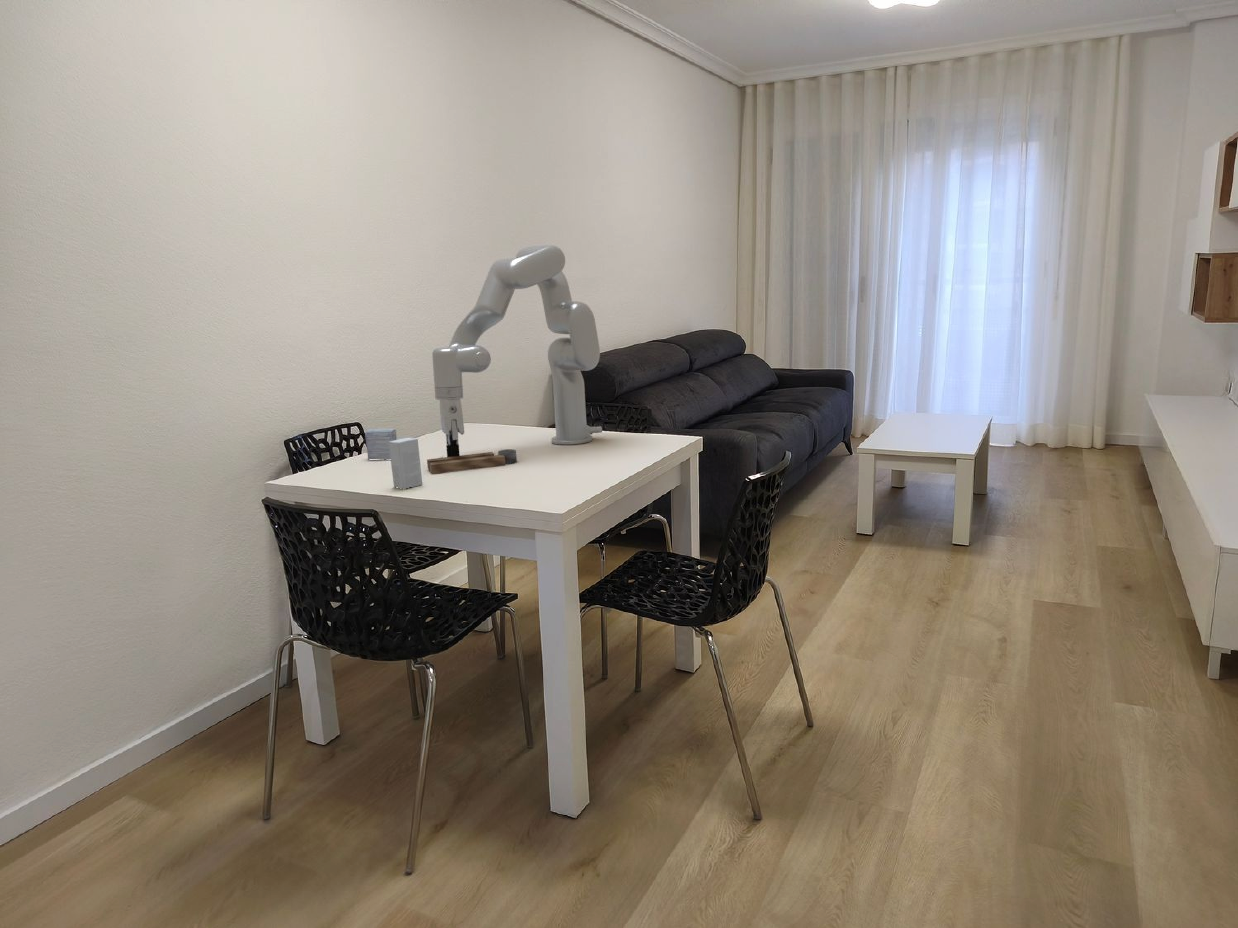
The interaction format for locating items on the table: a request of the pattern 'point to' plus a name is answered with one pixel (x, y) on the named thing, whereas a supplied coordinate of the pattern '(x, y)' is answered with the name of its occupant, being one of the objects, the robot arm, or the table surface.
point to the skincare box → (405, 463)
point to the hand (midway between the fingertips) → (453, 459)
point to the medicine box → (379, 443)
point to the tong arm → (458, 457)
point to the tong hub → (475, 462)
